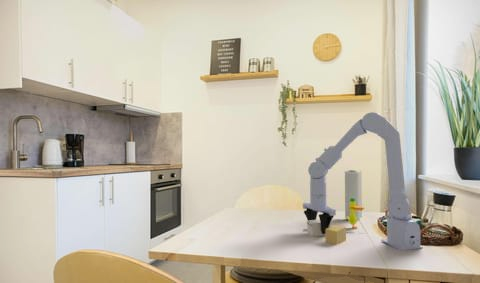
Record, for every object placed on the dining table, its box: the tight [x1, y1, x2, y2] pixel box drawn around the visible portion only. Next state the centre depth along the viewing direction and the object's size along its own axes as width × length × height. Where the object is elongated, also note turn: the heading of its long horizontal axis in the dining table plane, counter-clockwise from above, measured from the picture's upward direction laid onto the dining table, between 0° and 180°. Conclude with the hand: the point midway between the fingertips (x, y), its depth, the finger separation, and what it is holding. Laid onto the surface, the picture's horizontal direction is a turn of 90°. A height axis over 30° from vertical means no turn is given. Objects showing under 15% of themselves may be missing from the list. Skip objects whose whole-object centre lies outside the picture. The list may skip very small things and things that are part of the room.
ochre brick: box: [325, 224, 347, 246], centre depth 103 cm, size 4×7×5 cm, turn 138°
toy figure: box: [346, 198, 365, 230], centre depth 121 cm, size 7×4×12 cm, turn 61°
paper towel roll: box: [344, 170, 363, 221], centre depth 136 cm, size 7×6×21 cm
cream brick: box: [306, 218, 331, 237], centre depth 112 cm, size 4×7×5 cm, turn 103°
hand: (318, 231), depth 112 cm, fingers closed on cream brick, 5 cm apart
